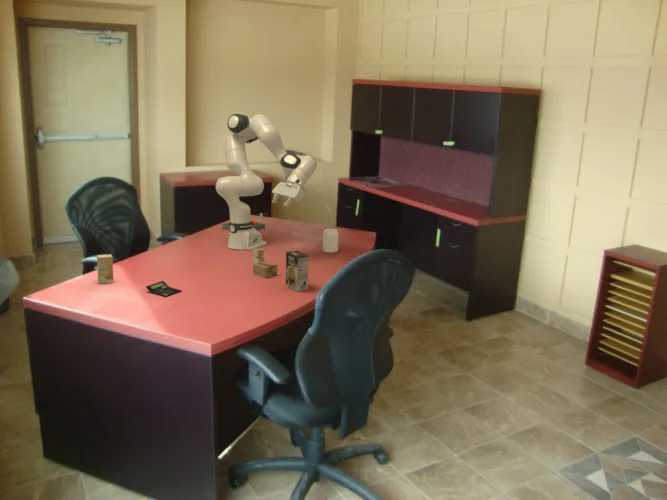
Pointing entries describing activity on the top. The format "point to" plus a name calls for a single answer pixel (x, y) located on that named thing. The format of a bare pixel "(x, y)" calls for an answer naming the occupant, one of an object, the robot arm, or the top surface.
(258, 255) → the oak block
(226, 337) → the top surface
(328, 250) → the beverage can
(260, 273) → the walnut brick
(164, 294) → the calculator
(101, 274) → the skincare box
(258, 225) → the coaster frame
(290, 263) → the coffee box
